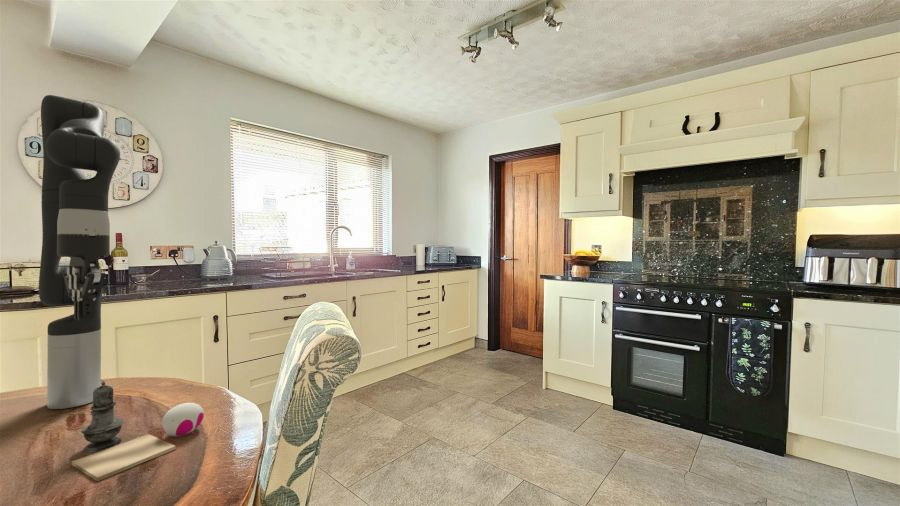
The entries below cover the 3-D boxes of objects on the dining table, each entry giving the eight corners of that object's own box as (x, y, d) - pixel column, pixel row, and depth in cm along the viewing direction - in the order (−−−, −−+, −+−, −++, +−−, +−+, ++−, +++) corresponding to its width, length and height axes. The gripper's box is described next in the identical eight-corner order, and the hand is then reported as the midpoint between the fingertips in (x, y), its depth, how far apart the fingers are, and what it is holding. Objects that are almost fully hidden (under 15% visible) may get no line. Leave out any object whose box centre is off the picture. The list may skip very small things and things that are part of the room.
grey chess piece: (97, 454, 66) (97, 387, 66) (72, 451, 67) (72, 385, 67) (131, 438, 72) (132, 377, 72) (108, 436, 73) (108, 375, 73)
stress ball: (172, 460, 70) (186, 434, 69) (146, 432, 72) (159, 406, 71) (208, 439, 78) (221, 416, 76) (183, 414, 79) (196, 391, 78)
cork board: (71, 464, 63) (71, 461, 63) (148, 436, 73) (148, 433, 73) (97, 481, 58) (97, 477, 58) (175, 449, 68) (175, 445, 68)
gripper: (45, 233, 74) (44, 319, 74) (72, 231, 68) (71, 325, 68) (94, 235, 81) (93, 314, 80) (123, 233, 74) (123, 319, 74)
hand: (83, 319), depth 74 cm, fingers closed
